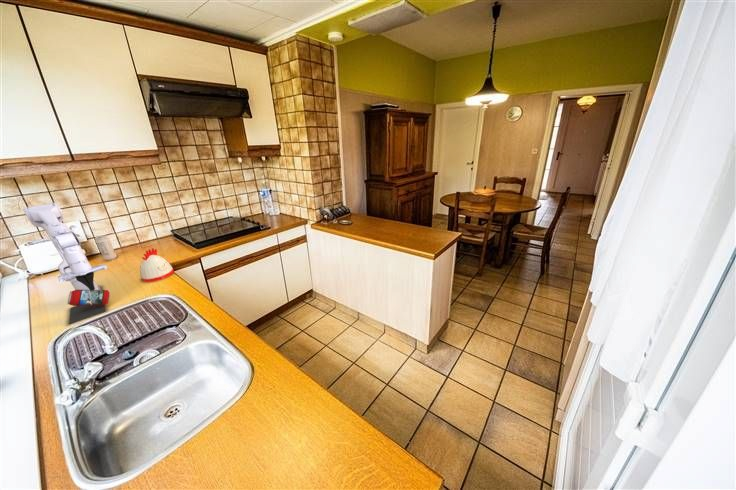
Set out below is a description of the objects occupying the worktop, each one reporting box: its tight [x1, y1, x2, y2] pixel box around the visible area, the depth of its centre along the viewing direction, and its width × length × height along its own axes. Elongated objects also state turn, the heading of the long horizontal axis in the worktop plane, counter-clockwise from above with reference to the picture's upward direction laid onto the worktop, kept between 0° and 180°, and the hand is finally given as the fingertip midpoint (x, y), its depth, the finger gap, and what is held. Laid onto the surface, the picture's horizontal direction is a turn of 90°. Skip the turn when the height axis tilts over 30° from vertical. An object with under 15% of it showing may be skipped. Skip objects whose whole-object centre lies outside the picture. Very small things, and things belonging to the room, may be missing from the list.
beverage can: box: [67, 289, 111, 307], centre depth 114 cm, size 7×7×12 cm
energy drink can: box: [94, 235, 117, 262], centre depth 165 cm, size 6×6×15 cm
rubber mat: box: [68, 305, 106, 325], centre depth 116 cm, size 16×11×1 cm
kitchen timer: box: [139, 247, 175, 283], centre depth 140 cm, size 14×14×15 cm
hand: (92, 289), depth 115 cm, fingers closed
